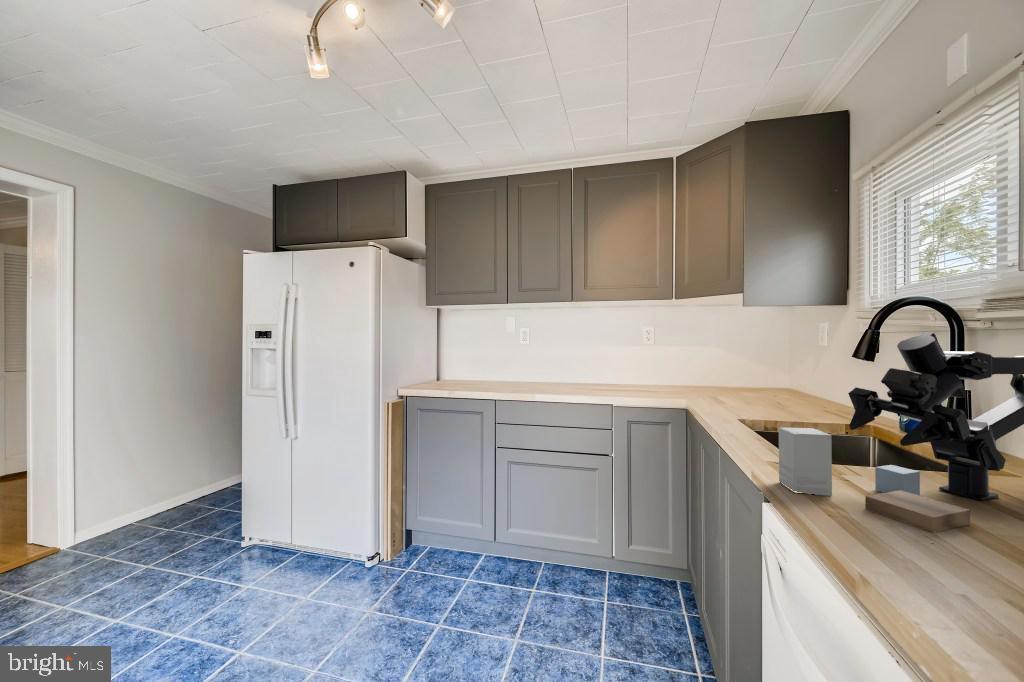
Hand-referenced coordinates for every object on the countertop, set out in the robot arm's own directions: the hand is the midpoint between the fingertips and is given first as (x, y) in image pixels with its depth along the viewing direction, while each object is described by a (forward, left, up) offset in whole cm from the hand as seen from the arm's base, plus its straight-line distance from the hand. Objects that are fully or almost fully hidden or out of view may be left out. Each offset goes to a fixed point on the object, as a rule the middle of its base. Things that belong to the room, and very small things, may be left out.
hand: (874, 435), depth 82 cm
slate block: (-10, -2, -13) cm, 17 cm away
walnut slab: (+1, +7, -13) cm, 15 cm away
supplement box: (+7, -9, -13) cm, 18 cm away
